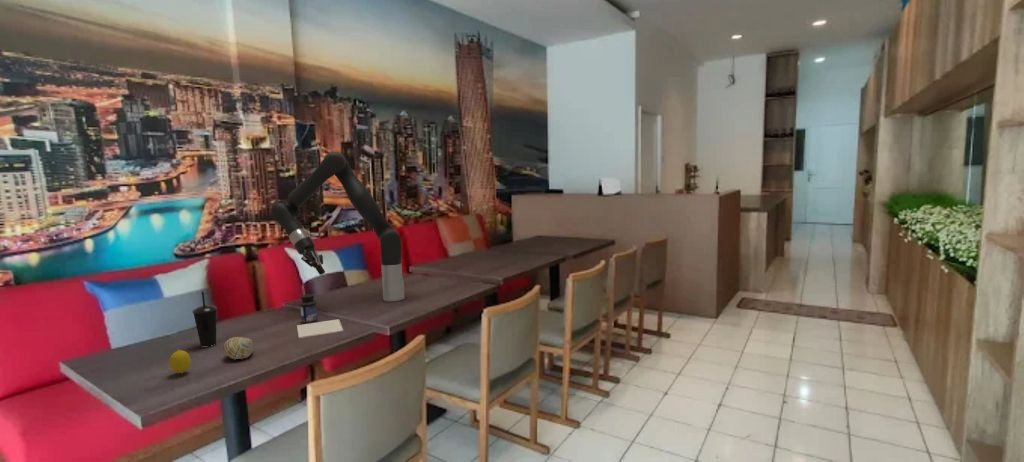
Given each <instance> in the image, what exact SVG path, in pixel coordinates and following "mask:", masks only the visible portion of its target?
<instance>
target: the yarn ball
mask: <svg viewBox="0 0 1024 462" xmlns="http://www.w3.org/2000/svg"><path fill="white" fill-rule="evenodd" d="M223 350H224V353H225V355H226V356H227V357H228V358H230V359H232V360H235V361H237V360H236V359H241V360H244V358H245V359H247V358H248V357H250V356H251V355H252V353H253V351H254V342H253V340H252V339H250V338H248V337H241V336H234V337H231V338H229V339H228V340H226V341H225V342H224V343H223Z"/></svg>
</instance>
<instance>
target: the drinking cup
mask: <svg viewBox="0 0 1024 462" xmlns="http://www.w3.org/2000/svg"><path fill="white" fill-rule="evenodd" d="M201 297H202V305H200V306H198V307H196V308H195V309H193V310H191V312H192V314H193V317H194V318H193V319H194V321H195V326H196V331H197V335H198V339H199V344H200V347H201V346H211V345H214V344H216V345H217V310H218V307H217V306H215V305H210V304H206V300H205V292H204V291H201ZM214 346H215V345H214Z"/></svg>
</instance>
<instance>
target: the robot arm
mask: <svg viewBox="0 0 1024 462" xmlns="http://www.w3.org/2000/svg"><path fill="white" fill-rule="evenodd" d="M333 176H335V178H337V180H338V181H339V182H340V184H341V185H342V187H343V189H344V192H345V194H346V195H347V198H348V199H349V202H350V203H351V204H352V206H353V208H354V209H355V210H356V212H358V214H359V215H360V216H361V218H363V220H365V222H367V224H369V225H370V227H371V229H373V231H374V232H375V235H376V237H377V238H378V240H379V243H380V264H381V267H380V268H381V279H382V297H383V301H384V302H388V303H389V302H399V301H401V300H405V284H404V283H405V282H404V278H403V267H402V257H403V256H402V239H401V236H400V233H399V232H398V231H397V230H396V229H394V227H393V226H392V225H391V224H390V223H389V222H388V220H387V219H386V217H385V216H384V215H383V213H382V211H381V208H380V207H379V205H378V203H377V202H376V200H375V198H374V197H373V196H372V194H371V193H370V192H369V190H368V189H367V187H365V185H364V184H363V182H362V181H360V179H359V178H358V177H357V176H356V174H355V172H354V171H353V169H352V168H351V166H350V164H349V162H348V160H347V158H346V156H345V155H344V154H343V153H341V152H339V151H331V152H328V153H327V154H326V155H325V156H324V157H323V159H322V161H321V162H320V163H319V165H318V166H317V167H316V169H315V170H314V171H313V172H312V173H311V174H310V175H308V177H306V178H305V179H304V180H302V182H301V183H299V184H298V185H297V186H296V187H295V188H294V189H293V190H292V191H290V193H289V194H288V195H287V199H288V201H286V203H283V202H275V203H274V204H272V206H271V208H270V214H271V216H272V217H273V219H274V220H275V221H276V222H277V223H278V225H280V227H282V228H283V230H284V231H285V233H286V234H287V236H288V239H289V240H290V242H291V244H292V245H293V246H294V249H296V251H297V253H298V255H302V256H301V260H302V262H305V263H306V265H308V266H309V267H311V268H312V267H313V268H314V269H315V270H316V271H317V273H318V274H319V275H324V274H325V273H326V270H325V269H324V268H323V266H322V265H323V264H324V255H323V254H318V252H317V250H316V249H315V248H316V244H315V242H314V241H313V239H312V238H311V236H310V234H309V233H308V231H306V229H304V227H303V225H302V223H301V222H300V221H299V220H298V219H297V218H295V216H296V215H297V213H298V211H299V210H300V209H301V207H302V205H304V204H305V202H307V201H308V200H309V199H310V198H311V197H313V195H314V194H315V193H316V192H317V190H319V189H320V188H321V186H322V185H323V184H324V183H325V182H327V181H328V180H329V179H331V178H332V177H333Z"/></svg>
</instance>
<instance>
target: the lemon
mask: <svg viewBox="0 0 1024 462" xmlns="http://www.w3.org/2000/svg"><path fill="white" fill-rule="evenodd" d="M169 358H170V359H169V366H170V369H171V371H172V372H174V373H177V374H180V373H182V372H184V373H185V372H186V371H188V369H189V368H190V366H191V362H192V359H191V357H190V355H189V353H188V352H187V351H185V350H182V349H177V350H176V351H175V352H173V353H172V354H171V356H170V357H169Z"/></svg>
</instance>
